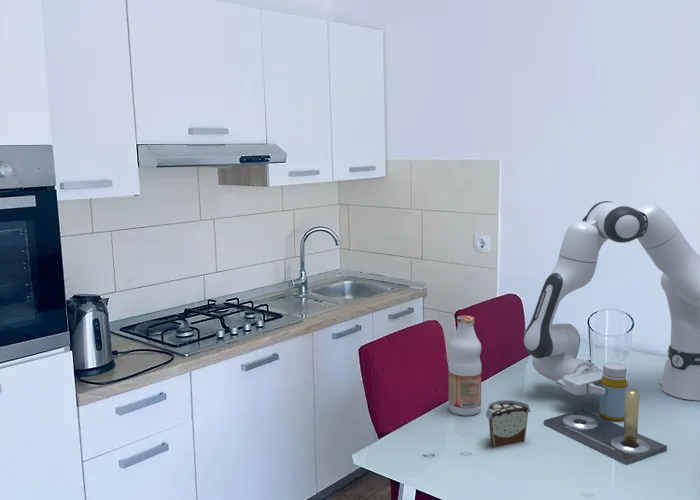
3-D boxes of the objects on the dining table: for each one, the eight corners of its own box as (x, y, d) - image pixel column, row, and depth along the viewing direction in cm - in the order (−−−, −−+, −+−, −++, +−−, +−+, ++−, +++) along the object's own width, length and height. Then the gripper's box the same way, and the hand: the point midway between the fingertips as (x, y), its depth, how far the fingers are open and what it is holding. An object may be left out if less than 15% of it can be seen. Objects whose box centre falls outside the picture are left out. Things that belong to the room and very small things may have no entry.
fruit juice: (441, 410, 189) (442, 317, 185) (460, 401, 195) (461, 311, 191) (468, 419, 182) (470, 323, 178) (487, 409, 189) (488, 317, 185)
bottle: (628, 422, 178) (630, 370, 176) (601, 420, 180) (603, 369, 177) (622, 412, 185) (625, 362, 183) (597, 411, 186) (599, 361, 184)
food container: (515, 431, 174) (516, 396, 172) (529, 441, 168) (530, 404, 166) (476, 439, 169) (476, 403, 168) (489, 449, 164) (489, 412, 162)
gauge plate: (582, 413, 185) (584, 361, 183) (666, 450, 161) (670, 391, 159) (543, 424, 178) (545, 371, 176) (626, 464, 154) (629, 403, 152)
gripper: (552, 370, 187) (590, 385, 175) (601, 358, 197) (640, 371, 185) (552, 391, 188) (589, 407, 176) (600, 378, 198) (639, 392, 186)
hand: (616, 389), depth 180 cm, fingers closed on bottle, 7 cm apart
